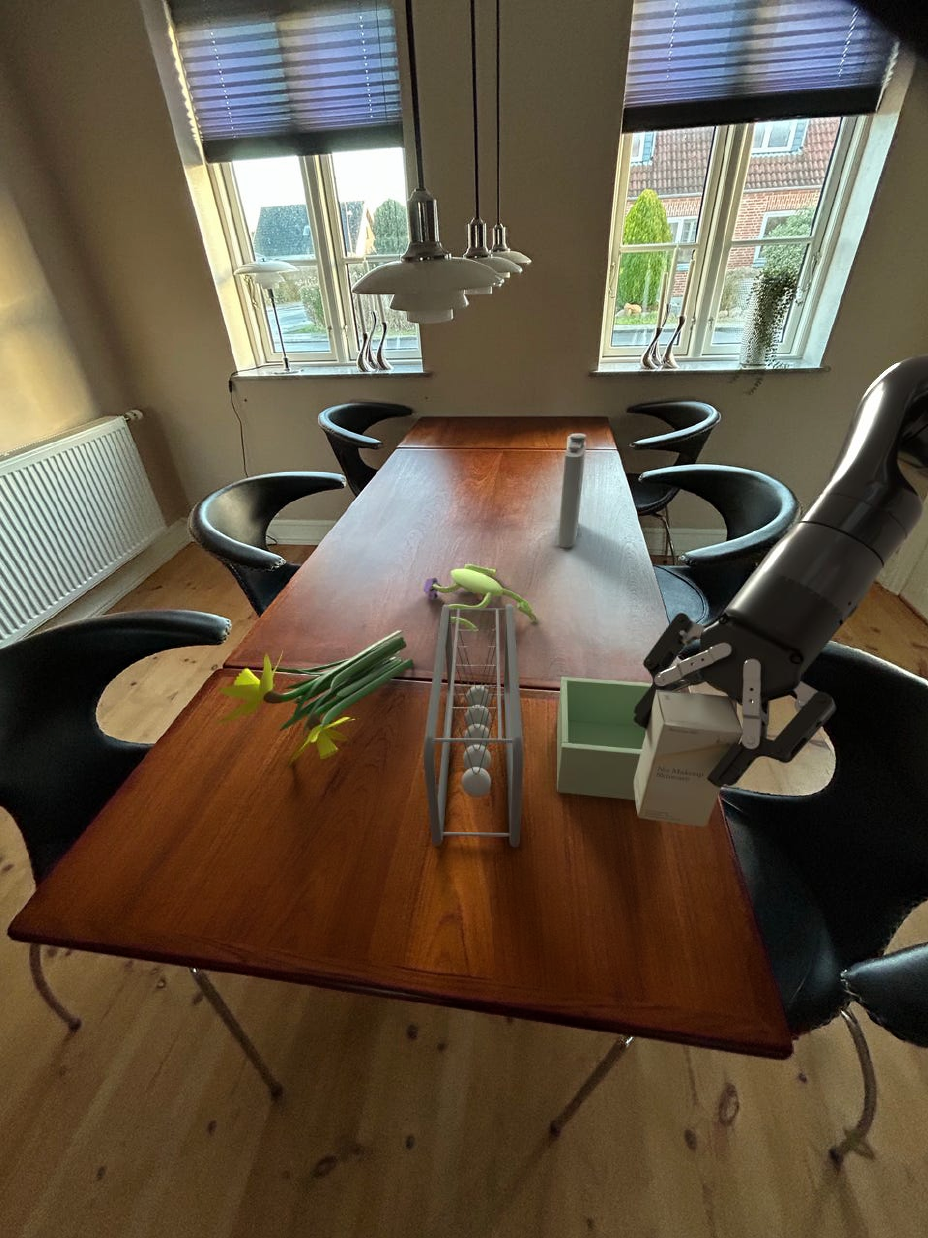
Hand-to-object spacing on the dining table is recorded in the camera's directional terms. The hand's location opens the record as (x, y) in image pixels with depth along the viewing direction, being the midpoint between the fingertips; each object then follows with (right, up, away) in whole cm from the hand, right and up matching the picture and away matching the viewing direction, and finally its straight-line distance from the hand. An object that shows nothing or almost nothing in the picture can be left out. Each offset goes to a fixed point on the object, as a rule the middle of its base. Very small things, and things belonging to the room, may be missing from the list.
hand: (674, 752), depth 45 cm
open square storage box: (+2, -9, +31) cm, 32 cm away
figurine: (-15, +14, +65) cm, 68 cm away
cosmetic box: (+2, -6, +5) cm, 8 cm away
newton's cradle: (-16, -9, +32) cm, 37 cm away
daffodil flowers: (-37, -4, +40) cm, 55 cm away
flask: (+9, +34, +93) cm, 100 cm away
